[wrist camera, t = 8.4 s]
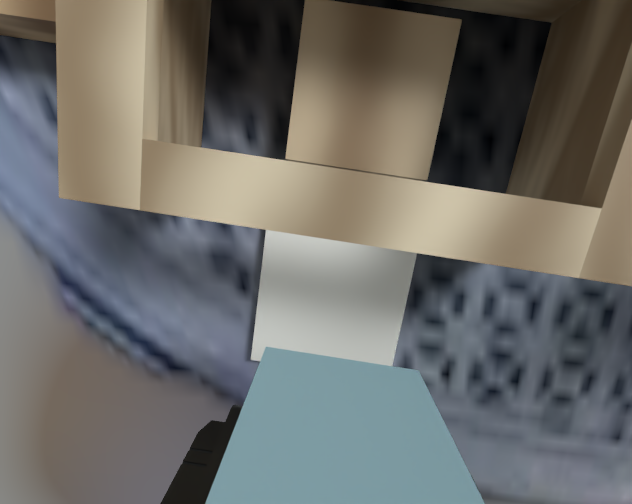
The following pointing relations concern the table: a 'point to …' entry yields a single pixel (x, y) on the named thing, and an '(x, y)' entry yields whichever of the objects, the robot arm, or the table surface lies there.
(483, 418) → the table surface
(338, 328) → the tile
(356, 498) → the block
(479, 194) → the frame
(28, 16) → the corn rack
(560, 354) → the table surface
